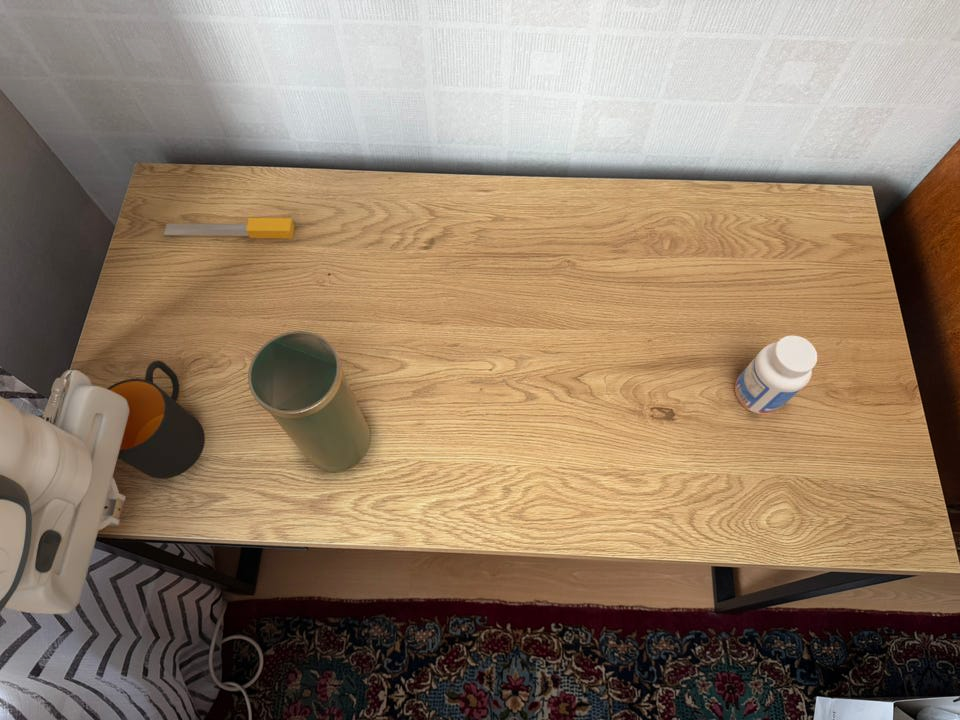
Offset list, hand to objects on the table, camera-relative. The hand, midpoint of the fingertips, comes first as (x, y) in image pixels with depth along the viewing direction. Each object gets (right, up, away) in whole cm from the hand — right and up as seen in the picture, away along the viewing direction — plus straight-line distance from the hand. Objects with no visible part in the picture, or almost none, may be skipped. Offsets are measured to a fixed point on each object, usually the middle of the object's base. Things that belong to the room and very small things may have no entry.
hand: (115, 511), depth 64 cm
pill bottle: (+72, +11, +15) cm, 74 cm away
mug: (0, +7, +12) cm, 14 cm away
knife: (+2, +34, +25) cm, 42 cm away
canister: (+20, +6, +12) cm, 24 cm away
